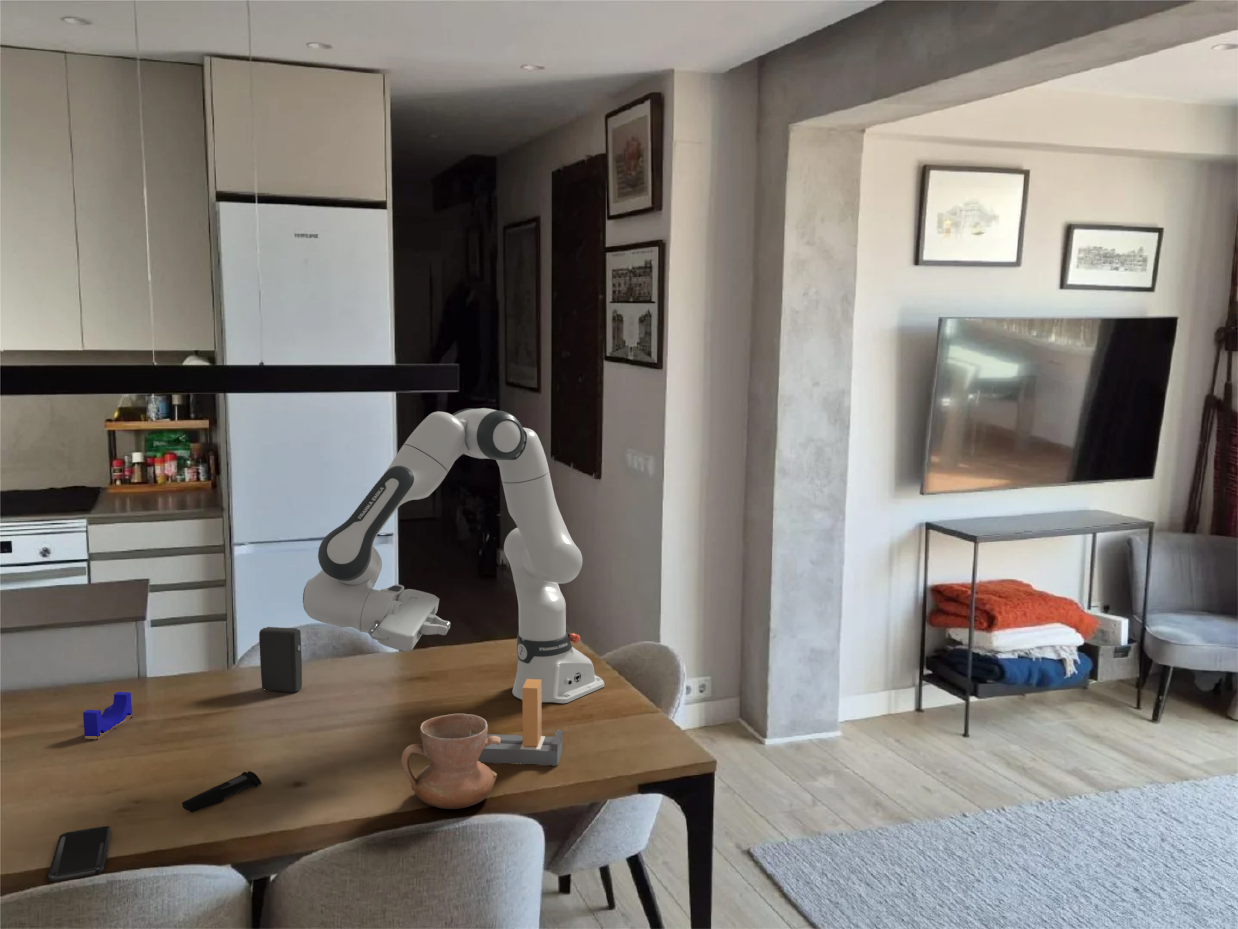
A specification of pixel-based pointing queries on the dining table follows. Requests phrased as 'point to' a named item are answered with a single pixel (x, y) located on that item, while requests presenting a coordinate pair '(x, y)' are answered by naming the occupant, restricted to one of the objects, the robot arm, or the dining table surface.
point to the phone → (80, 853)
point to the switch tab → (532, 712)
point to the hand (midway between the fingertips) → (448, 628)
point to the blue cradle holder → (107, 715)
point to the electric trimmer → (221, 792)
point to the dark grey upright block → (280, 659)
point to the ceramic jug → (452, 762)
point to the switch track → (523, 750)
